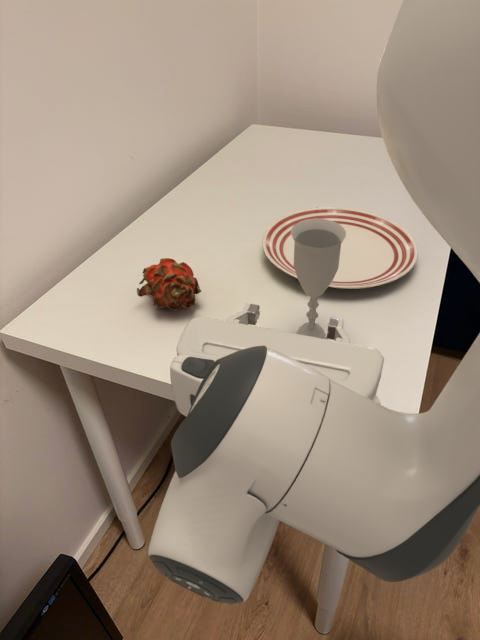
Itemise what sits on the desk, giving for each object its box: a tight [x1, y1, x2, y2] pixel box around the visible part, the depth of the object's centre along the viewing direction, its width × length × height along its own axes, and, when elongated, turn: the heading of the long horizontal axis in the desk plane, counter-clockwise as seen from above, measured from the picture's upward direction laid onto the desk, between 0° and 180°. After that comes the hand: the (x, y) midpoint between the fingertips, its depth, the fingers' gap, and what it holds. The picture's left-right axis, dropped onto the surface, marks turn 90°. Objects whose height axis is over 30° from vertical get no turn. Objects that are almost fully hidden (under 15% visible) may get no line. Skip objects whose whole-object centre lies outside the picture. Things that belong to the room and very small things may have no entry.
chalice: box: [291, 218, 346, 340], centre depth 66 cm, size 7×7×18 cm
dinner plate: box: [261, 206, 419, 290], centre depth 88 cm, size 27×27×3 cm
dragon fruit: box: [136, 257, 202, 311], centre depth 78 cm, size 8×8×12 cm
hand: (294, 315), depth 54 cm, fingers open, 8 cm apart
